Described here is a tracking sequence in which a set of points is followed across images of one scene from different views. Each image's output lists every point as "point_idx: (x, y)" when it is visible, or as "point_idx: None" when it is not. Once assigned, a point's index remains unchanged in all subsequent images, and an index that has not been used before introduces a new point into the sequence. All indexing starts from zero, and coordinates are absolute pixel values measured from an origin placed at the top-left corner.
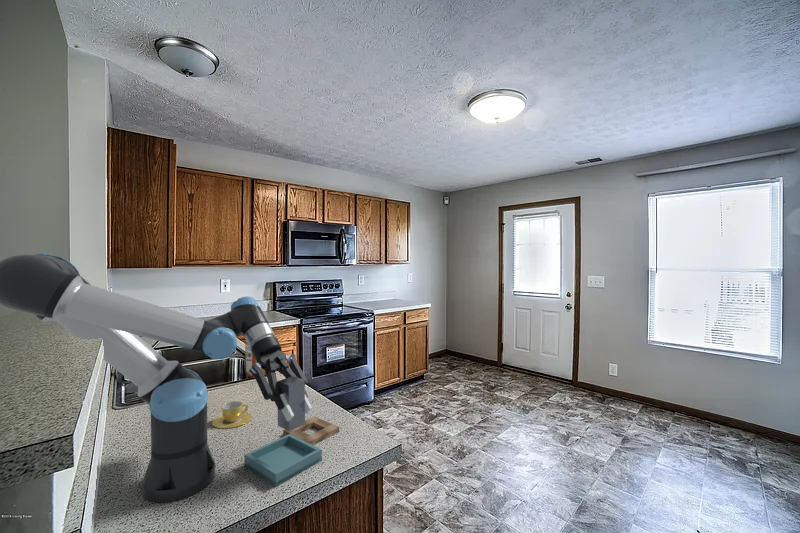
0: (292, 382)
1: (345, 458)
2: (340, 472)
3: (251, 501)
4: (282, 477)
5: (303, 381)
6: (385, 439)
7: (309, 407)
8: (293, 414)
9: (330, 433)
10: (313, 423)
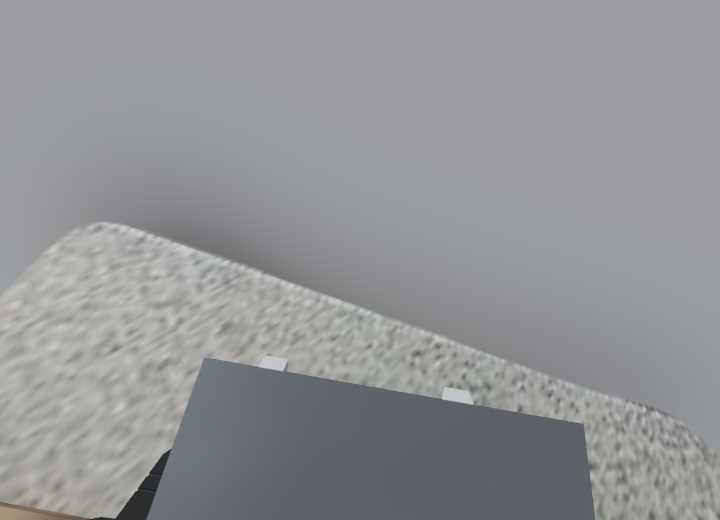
0: (437, 483)
1: (224, 321)
2: (308, 289)
3: (587, 449)
4: None
5: (233, 371)
6: (40, 261)
7: (282, 366)
8: (447, 394)
9: (40, 512)
10: None
